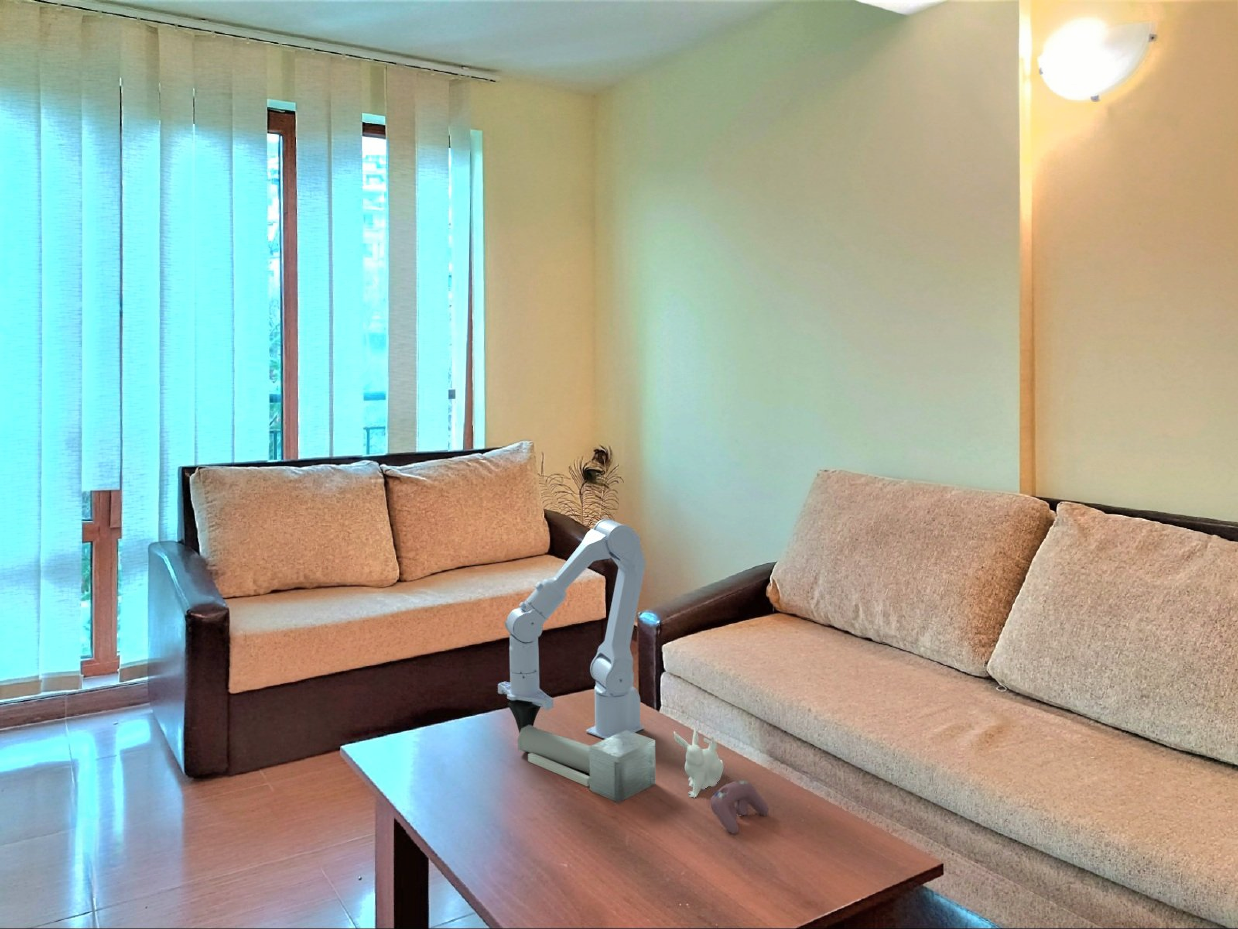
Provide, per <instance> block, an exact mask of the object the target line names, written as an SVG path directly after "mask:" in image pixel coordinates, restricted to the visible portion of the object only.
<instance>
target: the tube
mask: <svg viewBox="0 0 1238 929" xmlns="http://www.w3.org/2000/svg"><path fill="white" fill-rule="evenodd" d="M589 746H590V744H589V745H588V744H586V743H583V742H581V741H580V742H579V741H577V740H574V739H570V738H567V737H565V736H561V735H557V734H555V733H552V732H549V731H545V730H543V729H539V728H537V727H535V726H534V725H533V726H531V725H527V726H525V727H524V728H522V729H521V731H520V734H518V737H517V749H518V750H519V751H522V752H524V753H529V754H530V753H534V754H536V755H539V756H541V757H544V758H546V759H549V760H551V761H553V762H556V763H558V764H561V765H563V766H566V767H569V768H570V767H571V768H573V769H576V770H579V771H582V772H585V773H587V774H590V758H589Z"/></svg>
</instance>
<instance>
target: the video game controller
mask: <svg viewBox="0 0 1238 929" xmlns="http://www.w3.org/2000/svg"><path fill="white" fill-rule="evenodd" d="M709 804H710V809H711V811H712V813H713V814H714V815H715V816H716V817H717V819H718V821H719V822H720V823H721V825H722V826H723V827H724V828H725V830H726V831H728V832H729V833H730V832H731V834H732V833H733V834H732V835H736V834H737V833H738V832H739V826H738V823H737V817H738V816H739V815H741V816H740V817H743V815H744V816H746V815H747V814H749V806H750V807H752V808H753V809H754V810H755V811H756V812H757V813H759V814H760V815H762V814H763V815H762V816H764V815H766V816H767V815H769V807H768V804H767V803H766V800H764V799H763V798H762V796H761V795H760V794H759V793H758V791H757V790H756V788H755V787H754V786H753V785H752V784H751V783H749V782H748V781H747V780H745V781H744V780H736V781H731V782H728V783H726V784H724V785H723V786H722V787H720V788H719V789H718V790H717V791H716V792H715V794H713V795H712V796H711V798H710V803H709ZM733 804H734V807H733V806H732V805H733Z"/></svg>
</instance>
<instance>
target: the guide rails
mask: <svg viewBox="0 0 1238 929" xmlns="http://www.w3.org/2000/svg"><path fill="white" fill-rule="evenodd" d="M527 762H529V763H532V764H534V765H536V766H539V767H541V768H543V769H546V770H548V771H551V772H553V773H556V775H559V776H562V777H564V778H567V779H569V780H571V781H573V782H576V783H579V784H581V785H583V786H585V787H590V775H586V774H585V773H582V772H580V771H577V770H575V769H574V768H573V769H572V768H570V767H569V766H566V765H564V764H561V763H559V762H556V761H553V760H550V759H547V758H544V757H542V756H539V755H536V754H534V753H530V752H529V753H528V754H527Z"/></svg>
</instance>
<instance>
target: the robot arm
mask: <svg viewBox="0 0 1238 929" xmlns="http://www.w3.org/2000/svg"><path fill="white" fill-rule="evenodd" d="M641 541H642V540H641V537H640V536H639V535H638V533H637V532H636V531H635V530H634V528H632V527H631V526H629V525H627V524H623V523H619V522H618V521H615V520H614V519H612V518H603V519H601V520H599V521H597V522H596V523H595V524H594V526H593V528H590V530H589V531H587V533H586V534H585V536H584V537H583V539H582V541H581V542H580V544H579V545H578V547H576V549H575V551H573V553H572V554H570V556H569V558H568V559H567V561H565V563H564V564H563V565H562V567H561V568H560V569H559V570H558V571H557V573H556V574H555V575H554V577H551V578H545V579H543V580H542V581H538V582H537V583H536V584H535V585H534V587H535V589H534V590H533V591H532V592H531V594H530V595H529V596H528V597H527V598H526V599H525V600H524V601H521V602H520V603H519V605H518V606H519V607H517V608H514V609H512V611H510V613H509V614H508V615H507V616H506V619H507V620H506V621H504V626H505V628H506V631H507V632H508V633H509V649H508V650H509V681H508V682H507V681H503V682H499V683H498V684H497V693H498V694H500V695H503V694H504V695H506V698H507V699H508V700H510V701H509V702H508V703H507V706H508V708H509V710H510V711H511V713H512V715H513V717H514V719H515V723H516V725H517V728H518V729H517V730H518V733H519V734H520V731H521V729H522V728H524V727H525V726H527V725H531V726H534V724H535V721H536V718H537V716H538V713H539V712H540V709H541V708H542V710H544V711H549V710H551V709H553V708H554V698H553V697H551V696H549V695H547V693H545V691H543V690H542V689H541V688H540V661H539V660H540V658H539V657H540V656H539V655H540V654H539V653H540V652H539V650H540V649H539V637H541V635H542V633H543V629H544V628H543V627H544V624H545V623H546V621H547V620H549V619H550V617H551V616H552V615H553V614H554V612H555V611H556V610H557V609H558V607H560V605H561V604H562V603H563V602H564V601H565V600H566V599H567V598H566V597H567V589H568V588H569V587H570V586H571V584H573V583H574V582H575V581H576V580H577V578H578V577H579V576H581V575H582V574H583V572H584V571H586V570H587V568H588V567H590V565H591V564H592V563H593V562H596V561H601V560H608V559H612V561H613V562H614V563H615V564H616V565H617V568H618V569H617V574H616V579H615V585H614V591H613V595H612V601H611V606H610V611H609V615H608V620H607V626H606V632H605V636H604V640H603V642H602V643H601V644H600V645H598V648H597V652H596V655H595V656H594V658H593V659H592V661H591V663H590V667H589V668H590V669H589V670H590V671H589V672H590V675H591V677H592V678H593V679H594V680H595V686H594V726H592V727H589V728H587V729H586V730H585V731H586V733H588V734H591V735H594V736H595V737H598V738H602V739H603V740H605V739H607V738H609V737H612V736H614V735H616V734H618V733H621V732H623V731H625V730H628V731H631V732H634V733H637V732H639V731H641V730H643V729H644V725H641V696H640V694H639V691H638V690H637V688H636V687H635V686H633V685H634V682H635V674H634V671H633V670H634V669H633V665H634V658H633V655H632V654H633V653H632V651H631V648H630V647H631V641H632V636H633V631H634V628H635V627H634V626H635V620H636V616H637V610H638V606H639V600H640V596H641V591H642V585H643V580H644V575H645V571H646V570H645V569H646V559H645V556H644V553H643V549H642V547H641ZM519 734H518V735H519Z"/></svg>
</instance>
